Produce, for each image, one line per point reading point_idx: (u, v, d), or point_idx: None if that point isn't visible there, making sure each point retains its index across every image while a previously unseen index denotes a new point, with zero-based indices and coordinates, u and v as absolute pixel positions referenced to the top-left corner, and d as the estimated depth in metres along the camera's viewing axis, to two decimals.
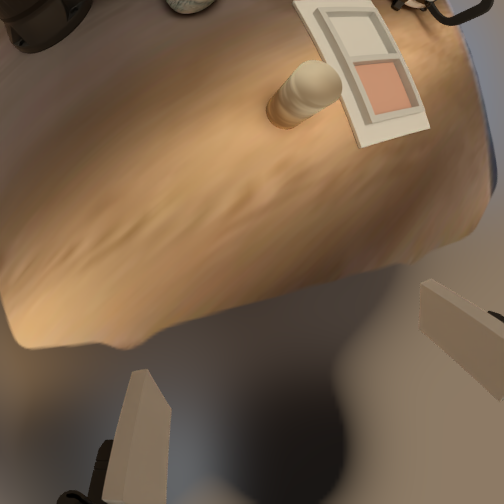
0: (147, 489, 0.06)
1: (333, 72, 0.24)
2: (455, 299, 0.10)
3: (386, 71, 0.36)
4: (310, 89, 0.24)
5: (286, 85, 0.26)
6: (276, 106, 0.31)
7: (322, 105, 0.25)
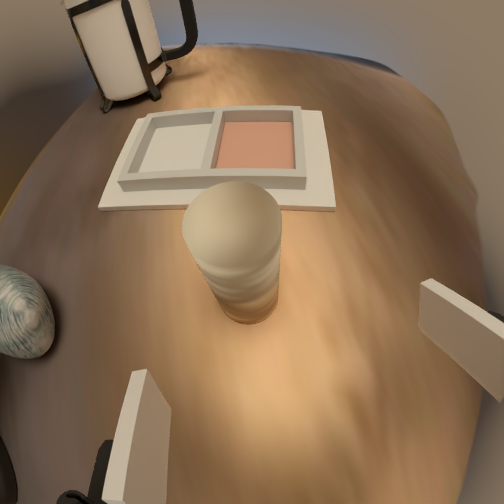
0: (147, 489, 0.06)
1: (221, 188, 0.15)
2: (455, 299, 0.10)
3: (235, 134, 0.33)
4: (240, 243, 0.14)
5: (213, 281, 0.16)
6: (240, 309, 0.20)
7: (279, 234, 0.14)
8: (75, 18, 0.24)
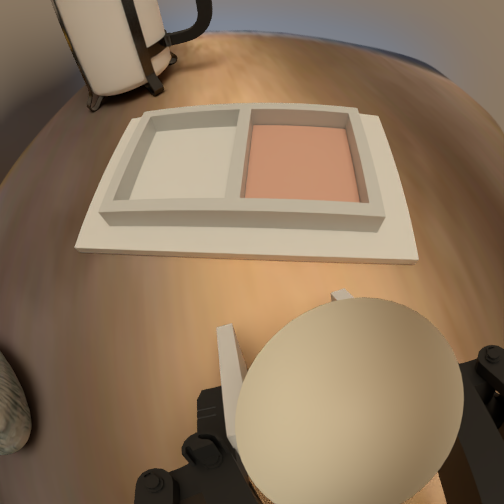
0: None
1: (331, 320, 0.06)
2: None
3: (270, 142, 0.23)
4: (386, 470, 0.04)
5: None
6: None
7: None
8: None
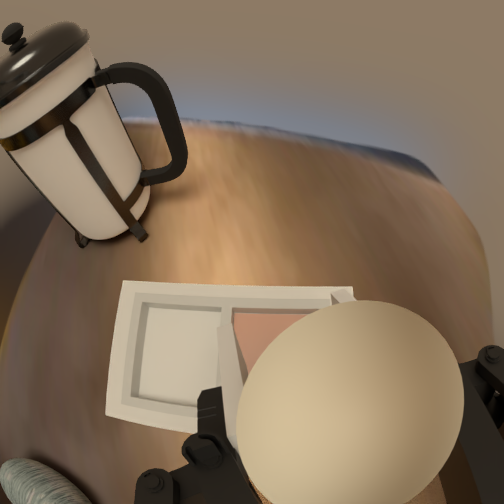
0: None
1: (332, 322, 0.06)
2: None
3: (248, 337, 0.28)
4: (387, 472, 0.04)
5: None
6: None
7: None
8: (8, 150, 0.19)
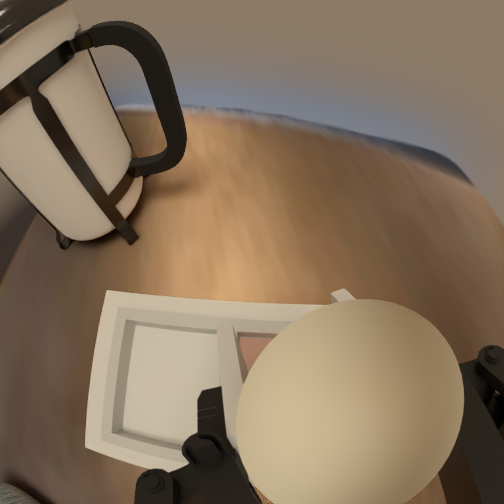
0: None
1: (332, 321, 0.06)
2: None
3: None
4: (387, 472, 0.04)
5: None
6: None
7: None
8: None
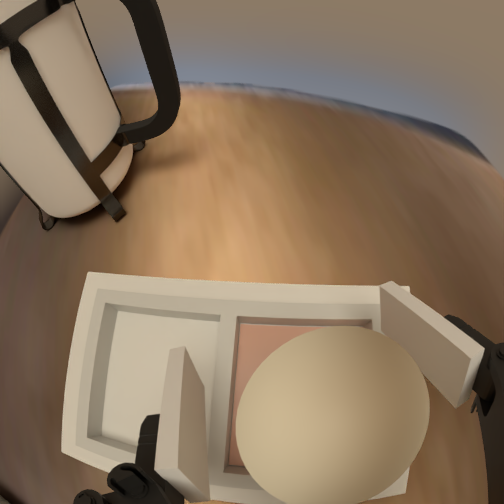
0: (194, 459, 0.08)
1: (315, 344, 0.07)
2: (411, 302, 0.11)
3: (261, 361, 0.18)
4: (359, 468, 0.05)
5: None
6: None
7: None
8: None
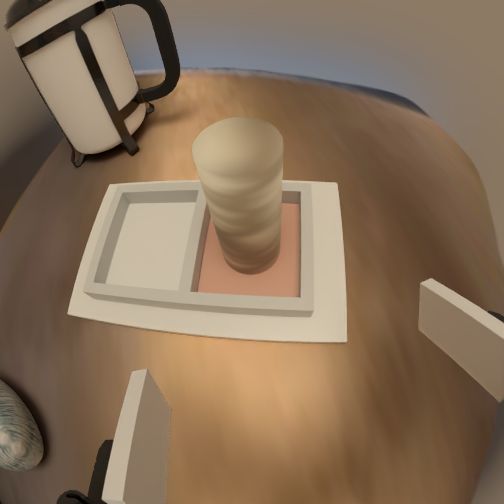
0: (147, 489, 0.06)
1: (229, 121, 0.16)
2: (455, 299, 0.10)
3: None
4: (245, 159, 0.14)
5: (218, 205, 0.17)
6: (243, 247, 0.20)
7: (281, 155, 0.15)
8: (24, 59, 0.18)
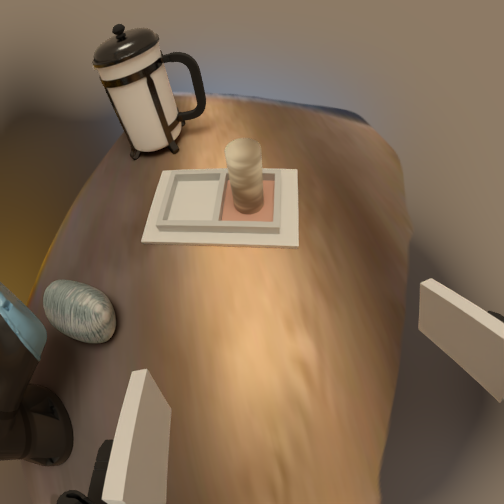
0: (147, 489, 0.06)
1: (239, 140, 0.39)
2: (455, 299, 0.10)
3: None
4: (246, 155, 0.38)
5: (234, 174, 0.40)
6: (244, 196, 0.43)
7: (260, 154, 0.38)
8: (109, 88, 0.41)
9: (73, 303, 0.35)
